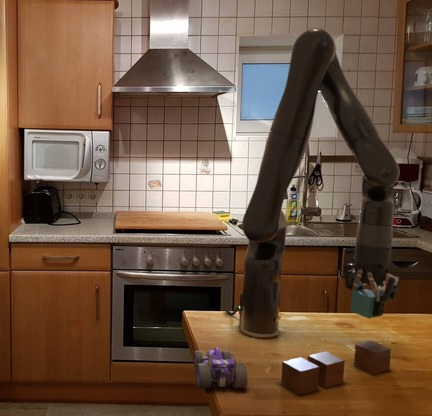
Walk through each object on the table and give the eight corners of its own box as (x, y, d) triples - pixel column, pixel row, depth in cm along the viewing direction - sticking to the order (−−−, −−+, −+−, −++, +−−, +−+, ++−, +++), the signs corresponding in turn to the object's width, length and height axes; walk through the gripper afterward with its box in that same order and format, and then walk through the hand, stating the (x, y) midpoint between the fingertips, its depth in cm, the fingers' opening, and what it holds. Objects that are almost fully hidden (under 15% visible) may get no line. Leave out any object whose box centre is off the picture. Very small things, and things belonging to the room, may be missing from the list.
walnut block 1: (281, 384, 107) (282, 361, 107) (299, 379, 109) (300, 357, 109) (299, 395, 103) (300, 371, 102) (318, 390, 105) (319, 366, 104)
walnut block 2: (306, 377, 110) (307, 355, 110) (324, 373, 112) (325, 351, 112) (325, 388, 106) (326, 364, 105) (343, 383, 108) (344, 360, 107)
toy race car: (229, 360, 119) (230, 332, 118) (247, 392, 104) (248, 361, 103) (187, 360, 119) (188, 332, 118) (199, 392, 104) (200, 361, 103)
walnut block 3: (353, 365, 116) (355, 344, 115) (369, 361, 118) (371, 340, 118) (373, 374, 112) (375, 352, 111) (389, 370, 114) (391, 348, 113)
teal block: (350, 311, 126) (352, 291, 125) (364, 308, 128) (366, 289, 127) (368, 318, 121) (370, 297, 121) (383, 315, 123) (385, 295, 123)
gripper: (337, 237, 127) (331, 304, 129) (390, 250, 114) (382, 324, 117) (358, 235, 130) (352, 300, 133) (413, 247, 117) (405, 320, 120)
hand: (366, 311), depth 125 cm, fingers closed on teal block, 5 cm apart
